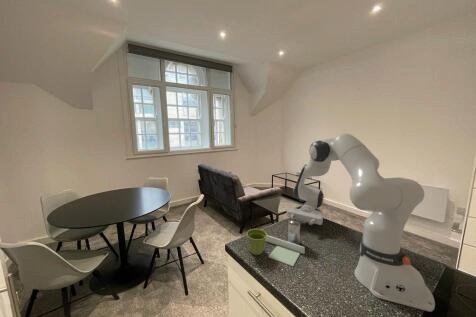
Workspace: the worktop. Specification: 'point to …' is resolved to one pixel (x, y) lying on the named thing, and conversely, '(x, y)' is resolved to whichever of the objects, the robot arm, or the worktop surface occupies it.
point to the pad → (284, 255)
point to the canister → (294, 231)
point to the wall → (285, 244)
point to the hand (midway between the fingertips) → (300, 221)
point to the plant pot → (256, 240)
